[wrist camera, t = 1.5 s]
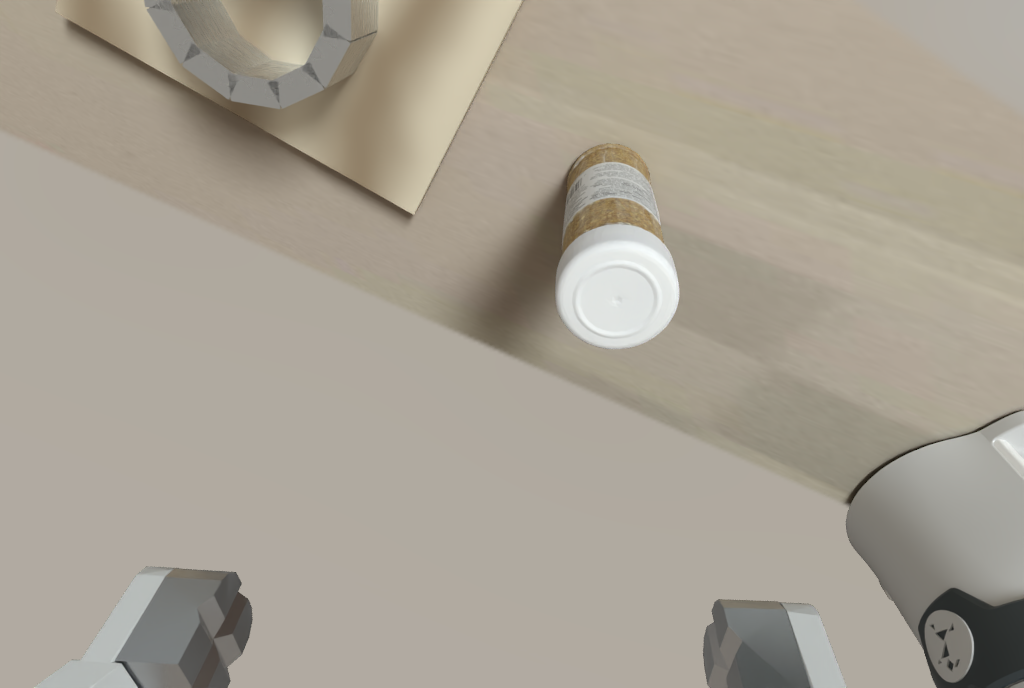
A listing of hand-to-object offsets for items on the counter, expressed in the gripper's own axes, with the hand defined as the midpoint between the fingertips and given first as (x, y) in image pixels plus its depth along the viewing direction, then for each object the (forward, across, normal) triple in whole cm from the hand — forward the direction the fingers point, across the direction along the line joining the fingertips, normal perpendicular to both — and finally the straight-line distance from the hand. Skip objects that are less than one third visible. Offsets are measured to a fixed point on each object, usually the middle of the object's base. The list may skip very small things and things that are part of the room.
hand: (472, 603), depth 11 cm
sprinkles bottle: (+27, +4, -2) cm, 27 cm away
